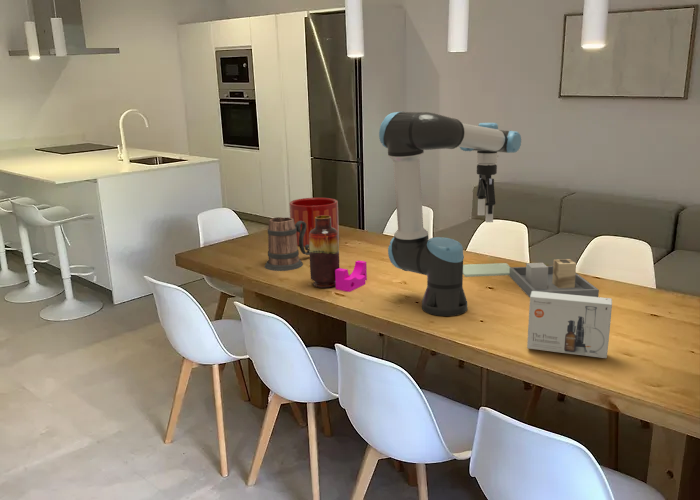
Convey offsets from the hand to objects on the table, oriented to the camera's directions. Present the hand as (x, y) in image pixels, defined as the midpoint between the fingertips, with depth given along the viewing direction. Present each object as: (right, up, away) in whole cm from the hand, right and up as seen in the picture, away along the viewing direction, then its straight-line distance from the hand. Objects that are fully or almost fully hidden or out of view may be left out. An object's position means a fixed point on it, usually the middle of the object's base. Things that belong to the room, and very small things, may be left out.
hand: (485, 218), depth 245 cm
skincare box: (+8, -40, -70) cm, 81 cm away
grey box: (+15, -25, -17) cm, 34 cm away
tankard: (-78, -19, +22) cm, 83 cm away
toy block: (-51, -26, -8) cm, 58 cm away
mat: (+2, -21, +5) cm, 21 cm away
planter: (-69, -9, +57) cm, 90 cm away
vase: (-62, -26, -6) cm, 67 cm away
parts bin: (+20, -26, -17) cm, 37 cm away
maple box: (+25, -25, -17) cm, 39 cm away
